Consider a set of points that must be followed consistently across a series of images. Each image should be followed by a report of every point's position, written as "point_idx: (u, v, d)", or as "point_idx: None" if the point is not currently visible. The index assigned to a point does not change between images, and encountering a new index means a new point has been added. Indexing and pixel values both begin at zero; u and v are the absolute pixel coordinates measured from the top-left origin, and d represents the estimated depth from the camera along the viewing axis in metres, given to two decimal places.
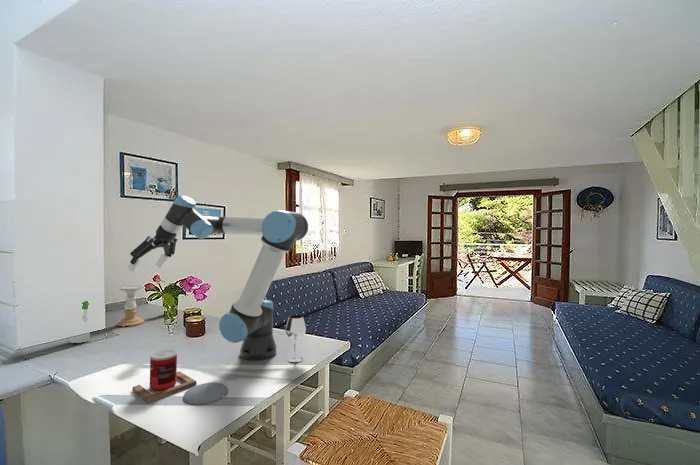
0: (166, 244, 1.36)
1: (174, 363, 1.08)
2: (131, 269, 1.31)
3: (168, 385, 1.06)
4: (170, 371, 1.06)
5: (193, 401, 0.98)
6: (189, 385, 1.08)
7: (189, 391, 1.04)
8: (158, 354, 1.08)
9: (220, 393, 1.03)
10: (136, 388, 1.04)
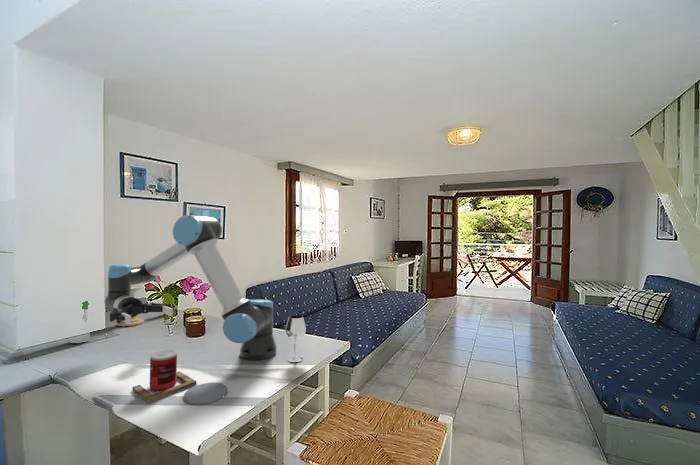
0: (139, 303, 1.23)
1: (174, 363, 1.08)
2: (127, 317, 1.08)
3: (168, 385, 1.06)
4: (170, 371, 1.06)
5: (193, 401, 0.98)
6: (189, 385, 1.08)
7: (189, 391, 1.04)
8: (158, 354, 1.08)
9: (220, 393, 1.03)
10: (136, 388, 1.04)
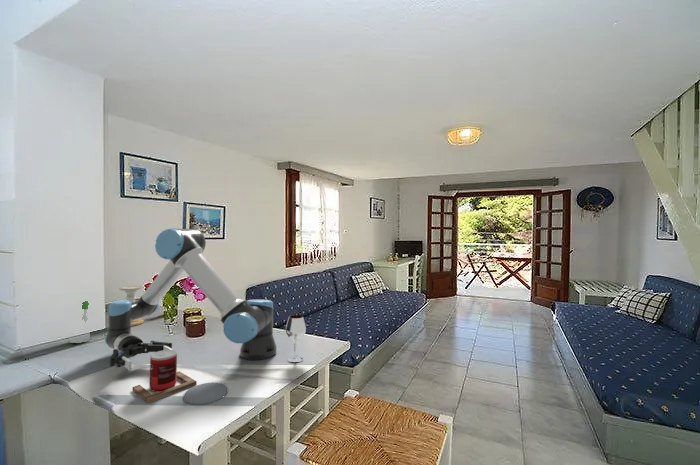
0: (139, 343, 1.22)
1: (174, 363, 1.08)
2: (128, 362, 1.07)
3: (168, 385, 1.06)
4: (170, 371, 1.06)
5: (193, 401, 0.98)
6: (189, 385, 1.08)
7: (189, 391, 1.04)
8: (158, 354, 1.08)
9: (220, 393, 1.03)
10: (136, 388, 1.04)
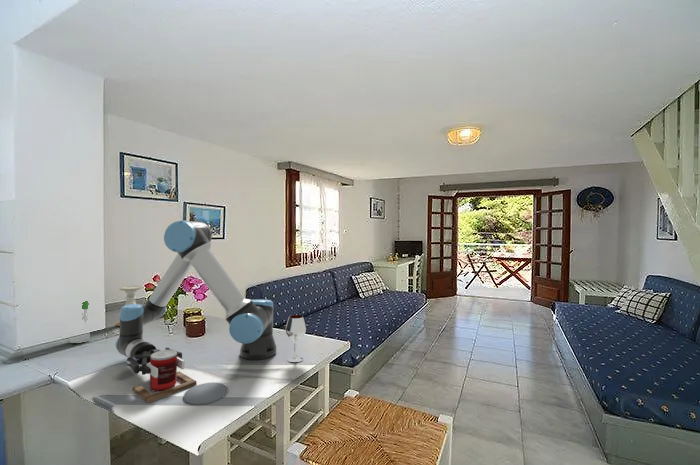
0: (153, 350, 1.15)
1: (174, 363, 1.08)
2: (154, 370, 1.02)
3: (168, 385, 1.06)
4: (171, 371, 1.06)
5: (193, 401, 0.98)
6: (189, 385, 1.08)
7: (189, 391, 1.04)
8: (158, 354, 1.08)
9: (220, 393, 1.03)
10: (136, 388, 1.04)
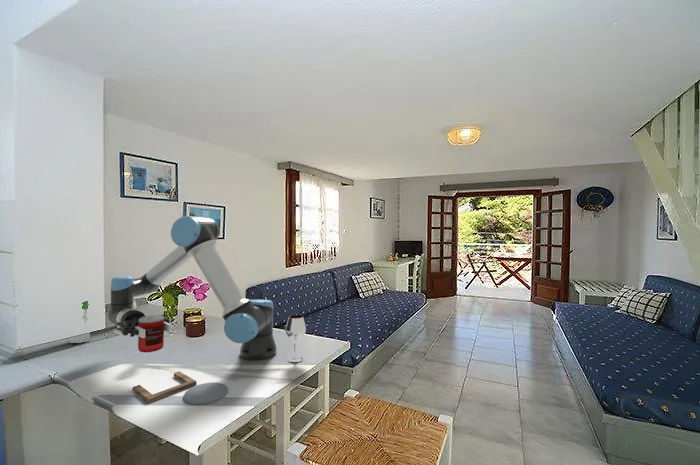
0: (142, 316, 1.21)
1: (161, 326, 1.13)
2: (142, 331, 1.08)
3: (156, 347, 1.12)
4: (158, 334, 1.12)
5: (193, 401, 0.98)
6: (189, 385, 1.08)
7: (189, 391, 1.04)
8: (146, 318, 1.14)
9: (220, 393, 1.03)
10: (136, 388, 1.04)
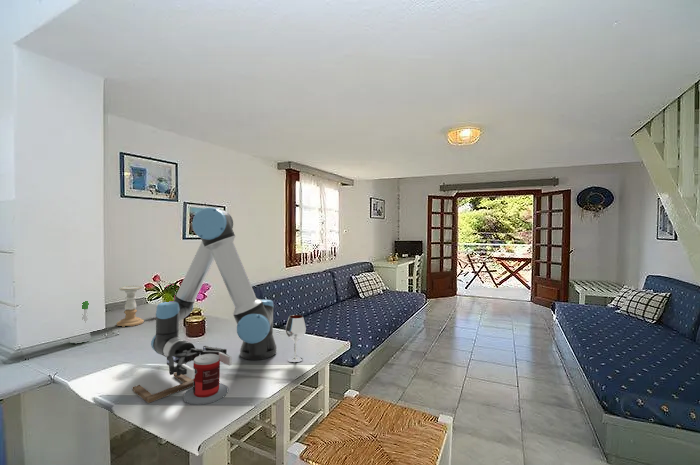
0: (193, 349, 1.11)
1: (218, 368, 1.03)
2: (191, 371, 0.97)
3: (213, 391, 1.02)
4: (215, 376, 1.02)
5: (193, 401, 0.98)
6: (189, 385, 1.08)
7: (189, 391, 1.04)
8: (201, 358, 1.04)
9: (220, 393, 1.03)
10: (136, 388, 1.04)
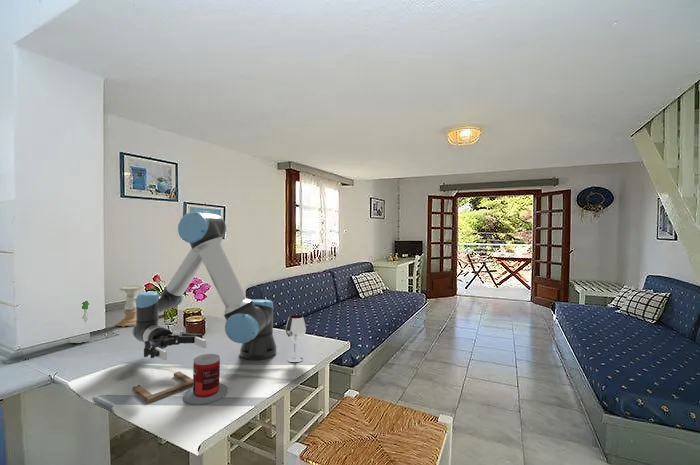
0: (170, 334, 1.20)
1: (218, 368, 1.03)
2: (163, 353, 1.05)
3: (213, 391, 1.02)
4: (215, 376, 1.02)
5: (193, 401, 0.98)
6: (189, 385, 1.08)
7: (189, 391, 1.04)
8: (201, 358, 1.04)
9: (220, 393, 1.03)
10: (136, 388, 1.04)
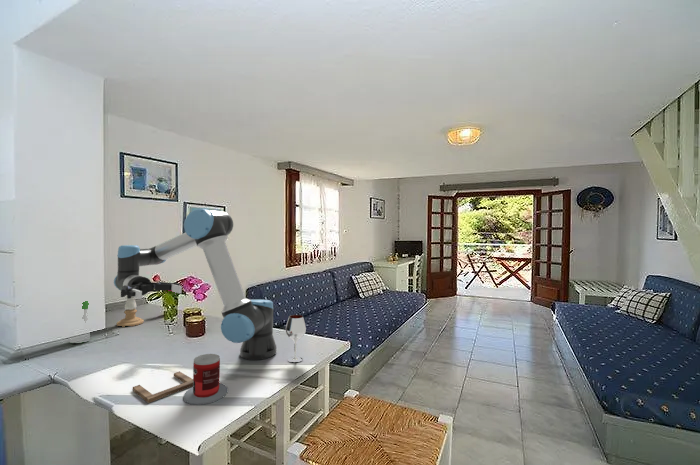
0: (148, 282, 1.26)
1: (218, 368, 1.03)
2: (138, 292, 1.11)
3: (213, 391, 1.02)
4: (215, 376, 1.02)
5: (193, 401, 0.98)
6: (189, 385, 1.08)
7: (189, 391, 1.04)
8: (201, 358, 1.04)
9: (220, 393, 1.03)
10: (136, 388, 1.04)
